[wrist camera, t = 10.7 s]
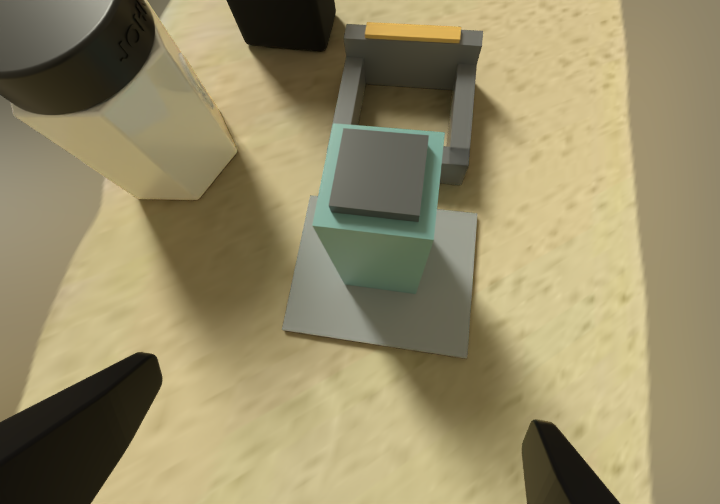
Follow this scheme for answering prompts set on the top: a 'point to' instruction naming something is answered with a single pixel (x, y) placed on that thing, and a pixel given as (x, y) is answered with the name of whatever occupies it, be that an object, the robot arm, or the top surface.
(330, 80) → the top surface
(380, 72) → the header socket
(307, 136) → the top surface
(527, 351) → the top surface
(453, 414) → the top surface
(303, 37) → the battery
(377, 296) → the mat
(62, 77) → the jar
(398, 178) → the plug
